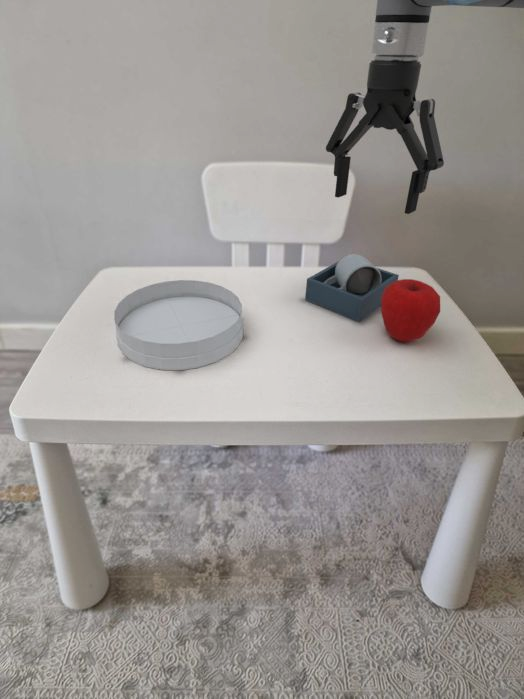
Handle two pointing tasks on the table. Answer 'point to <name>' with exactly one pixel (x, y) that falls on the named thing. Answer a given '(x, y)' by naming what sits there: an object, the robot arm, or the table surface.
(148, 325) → the dish
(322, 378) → the table surface
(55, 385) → the table surface
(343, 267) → the ceramic mug
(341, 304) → the tub
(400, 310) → the apple
